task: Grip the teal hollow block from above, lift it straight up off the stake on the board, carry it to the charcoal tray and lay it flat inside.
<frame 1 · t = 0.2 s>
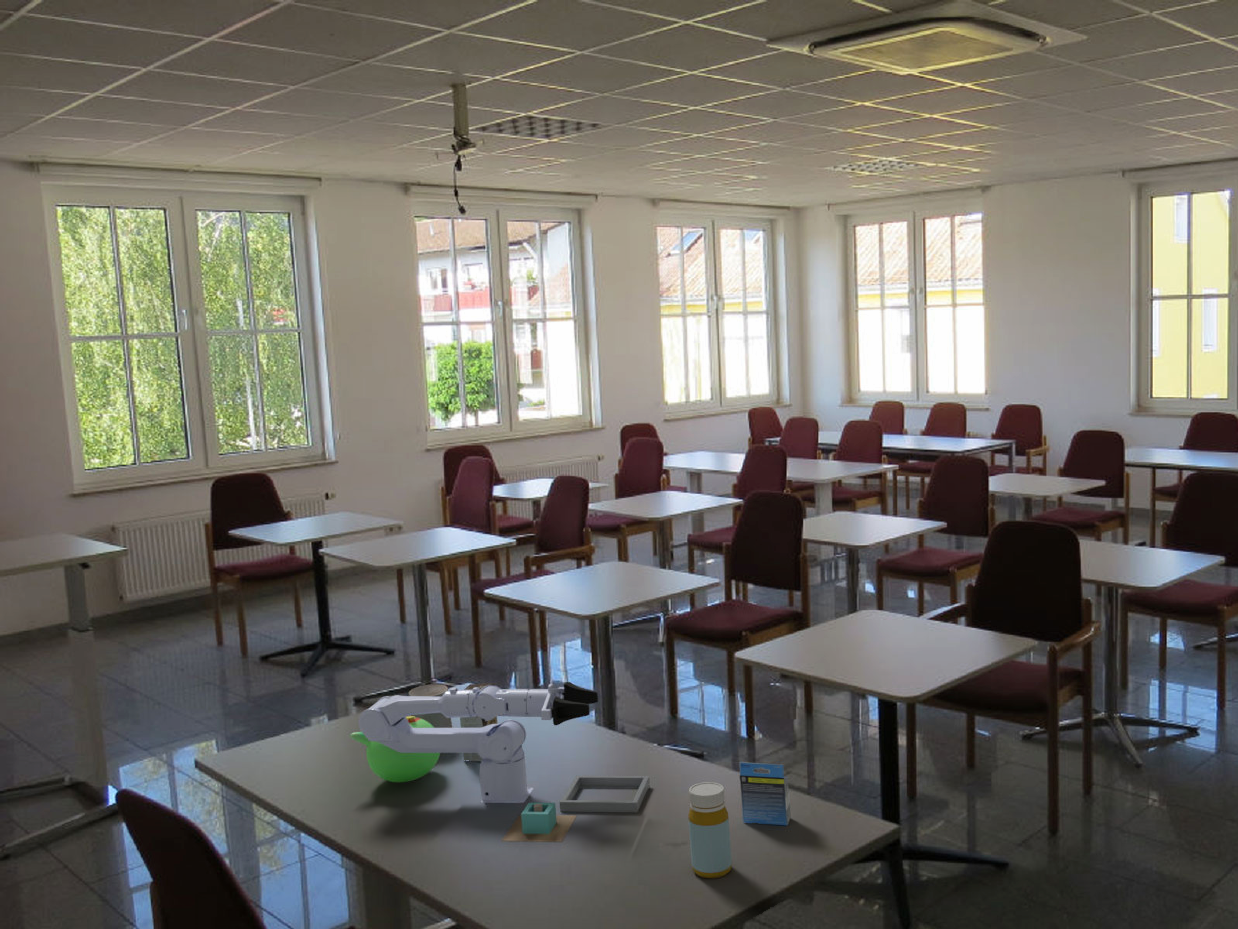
hand: (593, 703, 234), 20 cm above the table, tool horizontal, fingers open, 7 cm apart
toy bird: (402, 780, 255), on the table, touching arm
stake board: (540, 830, 222), on the table
coffee box: (482, 755, 268), on the table
bottle: (712, 871, 200), on the table
pillar candle: (433, 745, 278), on the table
label tape box: (767, 822, 219), on the table
tray: (606, 800, 235), on the table
teal hollow block: (539, 827, 222), point 1 cm above the table, touching stake board
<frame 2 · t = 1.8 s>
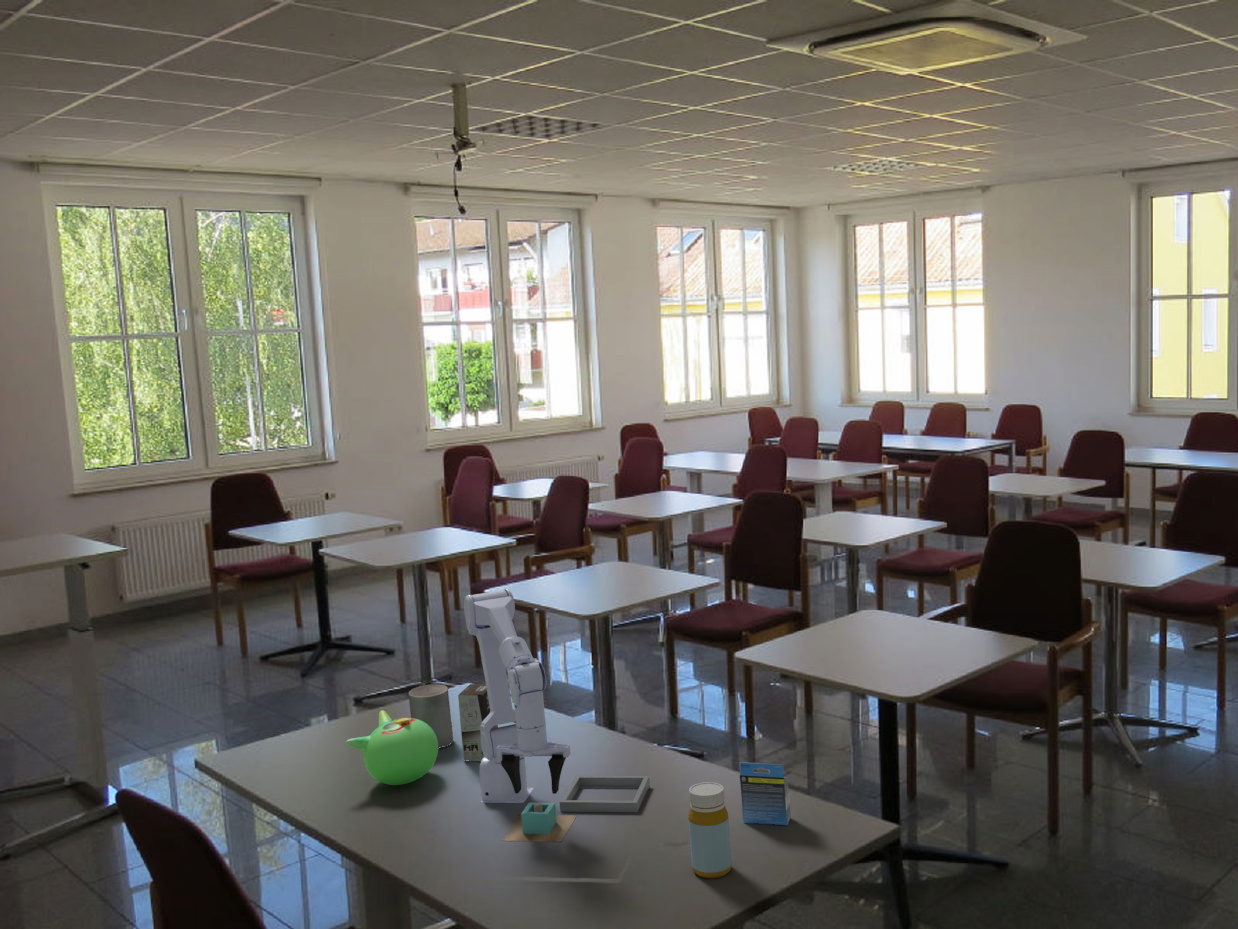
hand: (536, 791, 222), 8 cm above the table, tool pointing down, fingers open, 7 cm apart
toy bird: (401, 781, 255), on the table
everything else where it was.
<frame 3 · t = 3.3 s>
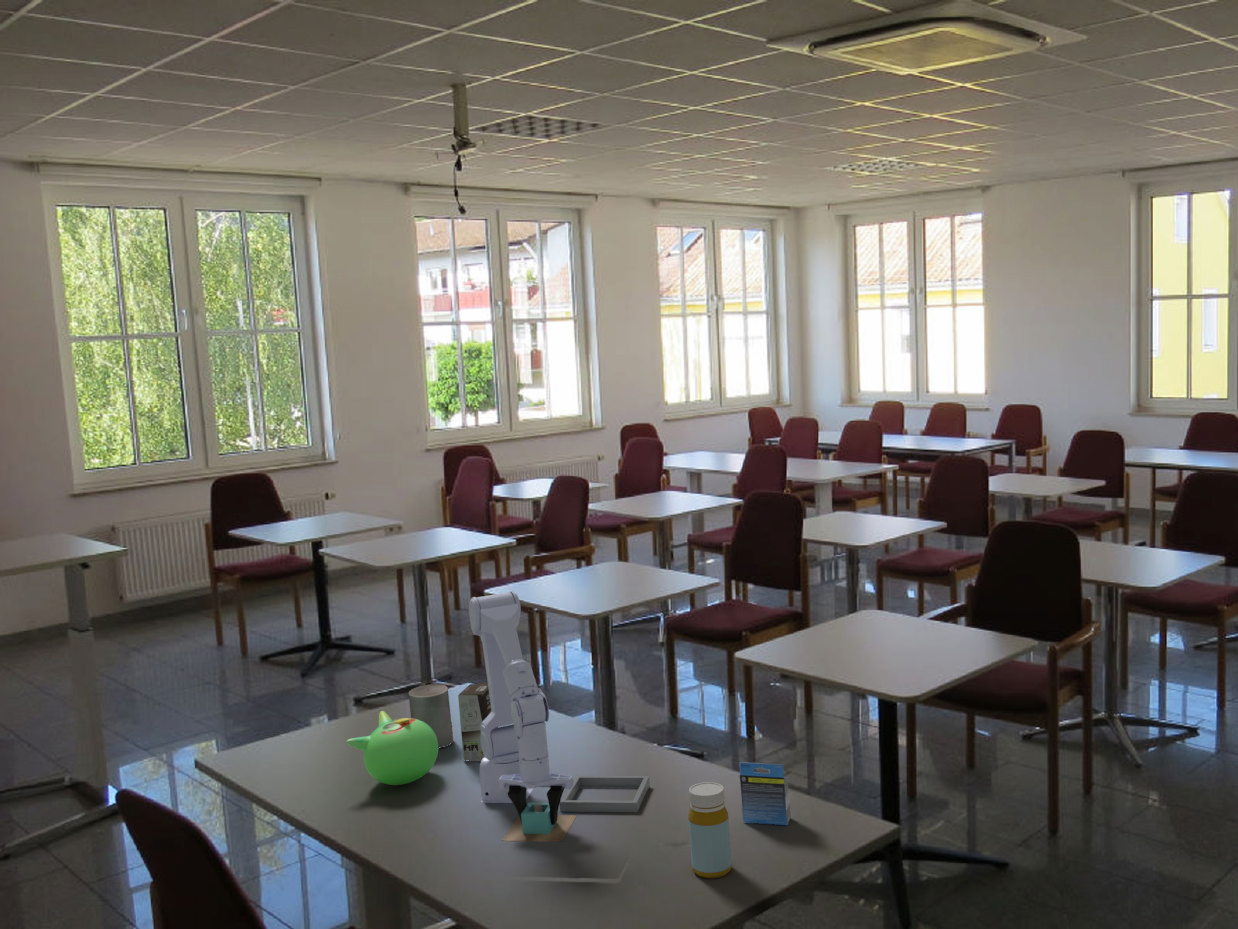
hand: (539, 822, 222), 2 cm above the table, tool pointing down, fingers closed on teal hollow block, 5 cm apart
teal hollow block: (539, 827, 222), point 1 cm above the table, touching gripper, stake board
everything else where it was.
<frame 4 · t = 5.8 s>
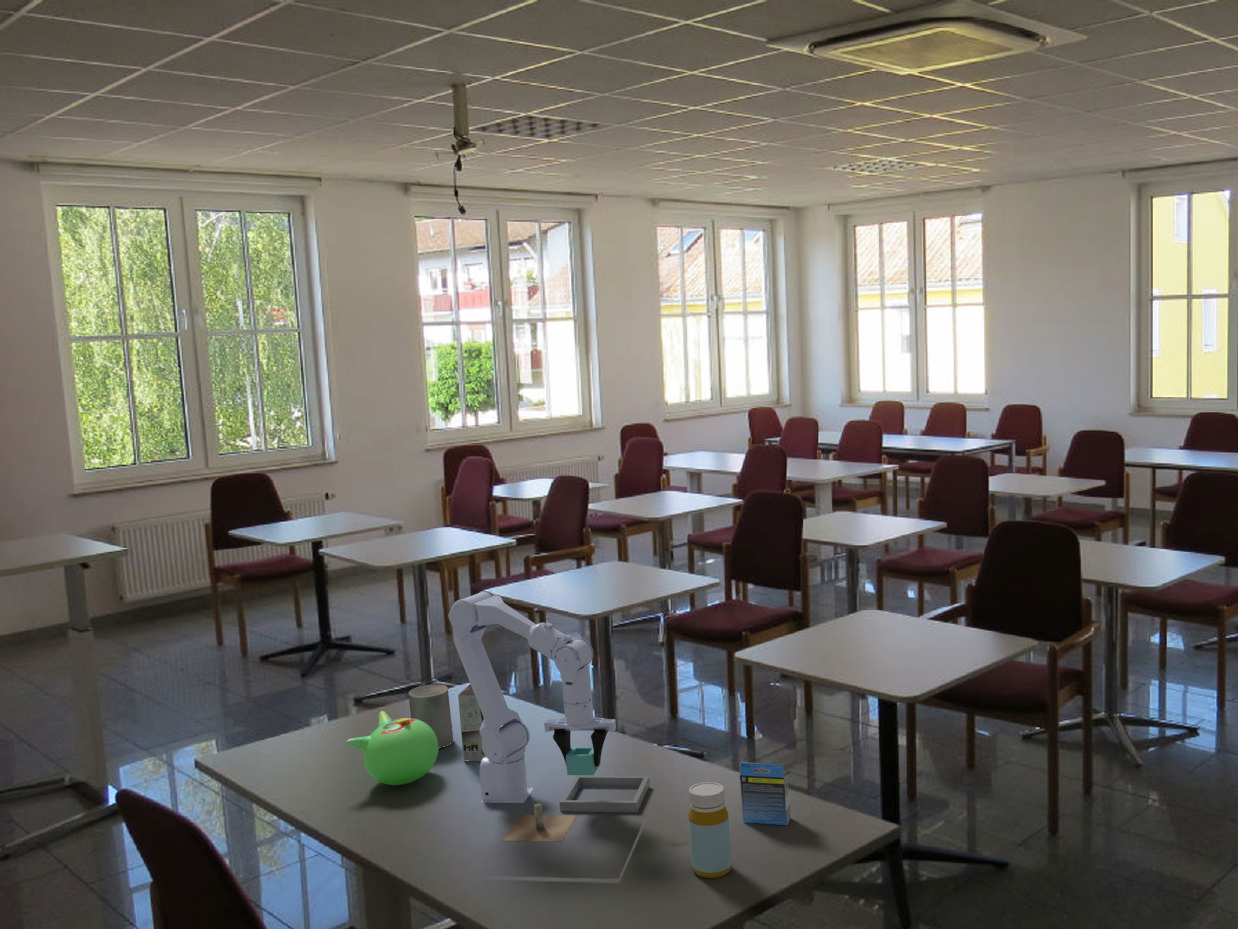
hand: (583, 764, 230), 9 cm above the table, tool pointing down, fingers closed on teal hollow block, 5 cm apart
teal hollow block: (583, 770, 230), point 8 cm above the table, touching gripper
everything else where it was.
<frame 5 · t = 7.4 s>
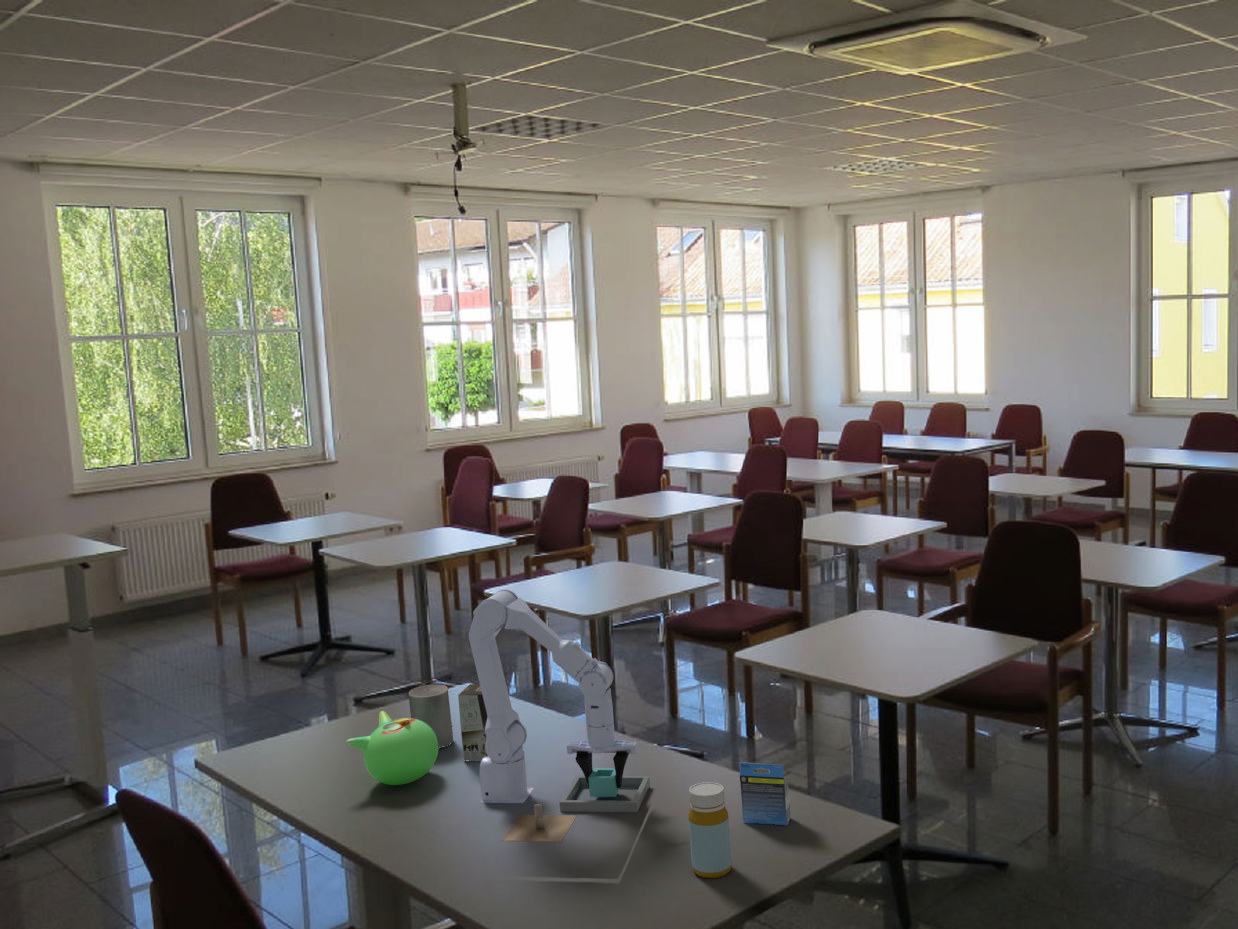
hand: (605, 786, 235), 3 cm above the table, tool pointing down, fingers closed on teal hollow block, 5 cm apart
teal hollow block: (605, 791, 235), point 2 cm above the table, touching gripper
everything else where it was.
when the fingers open (3 cm above the table, at t = 8.4 s): teal hollow block drops 1 cm, resting on tray.
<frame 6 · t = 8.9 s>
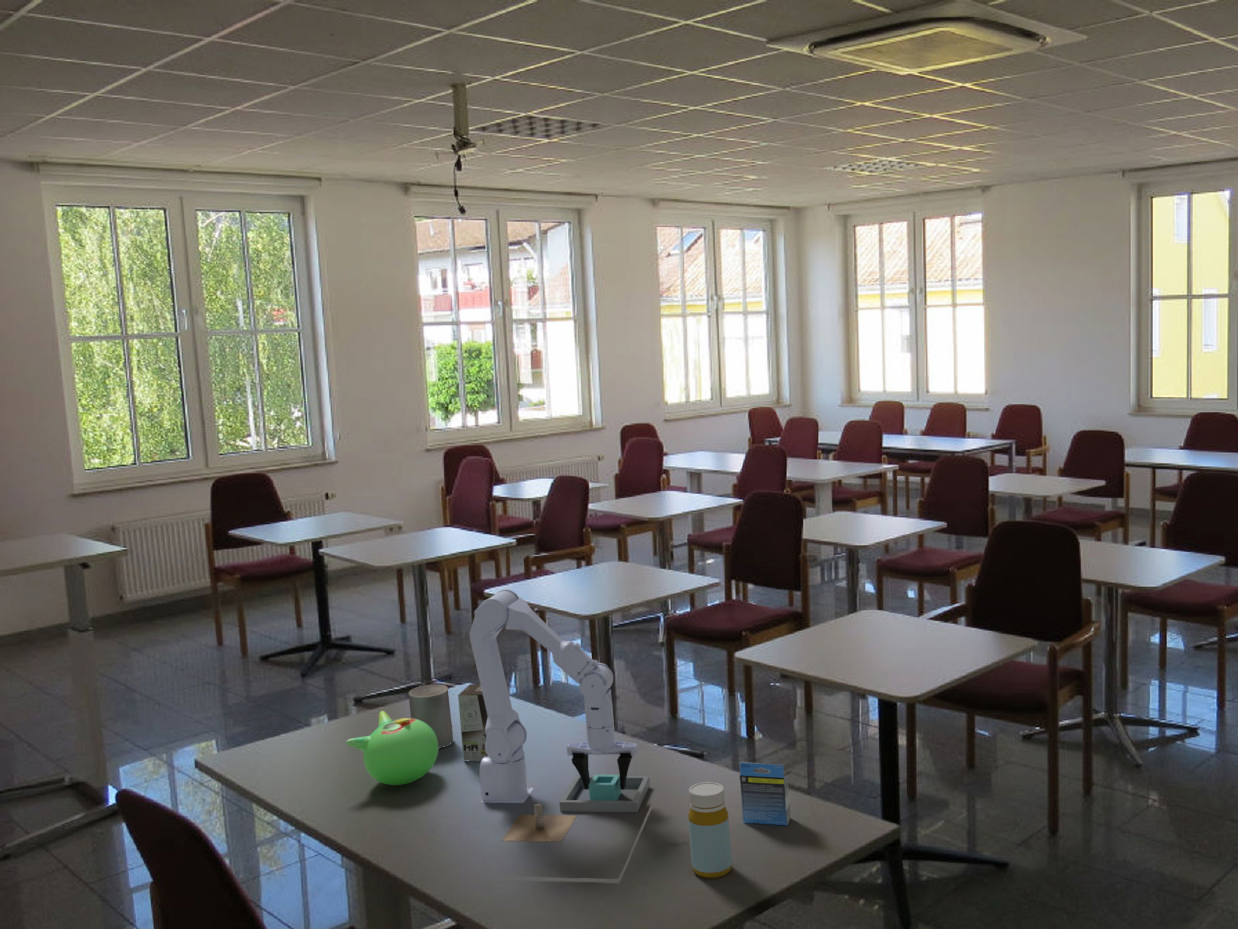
hand: (605, 788, 235), 3 cm above the table, tool pointing down, fingers open, 7 cm apart
teal hollow block: (605, 798, 235), resting on tray
everything else where it was.
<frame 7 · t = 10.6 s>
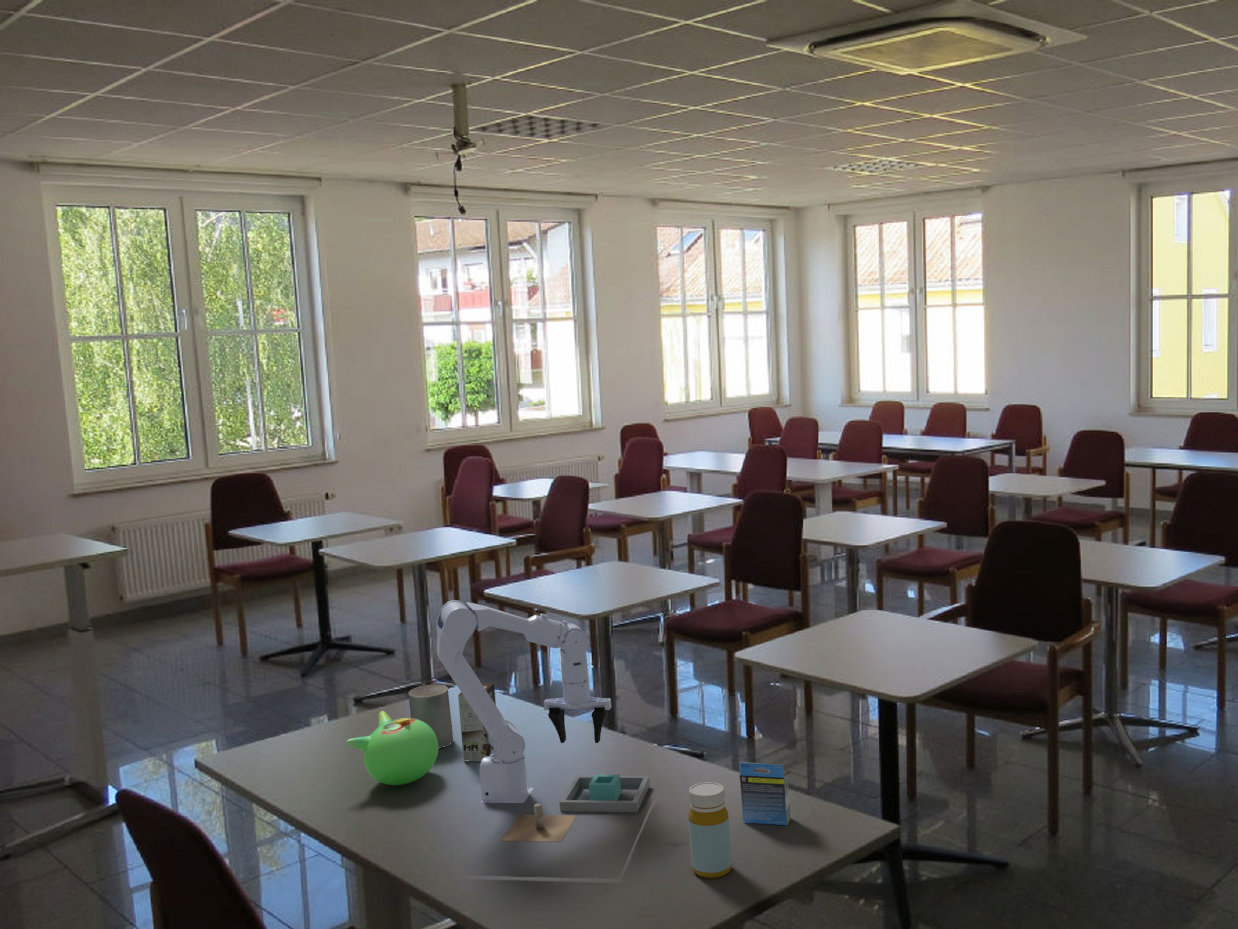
hand: (580, 741, 244), 9 cm above the table, tool pointing down, fingers open, 7 cm apart
nothing on the table moved.
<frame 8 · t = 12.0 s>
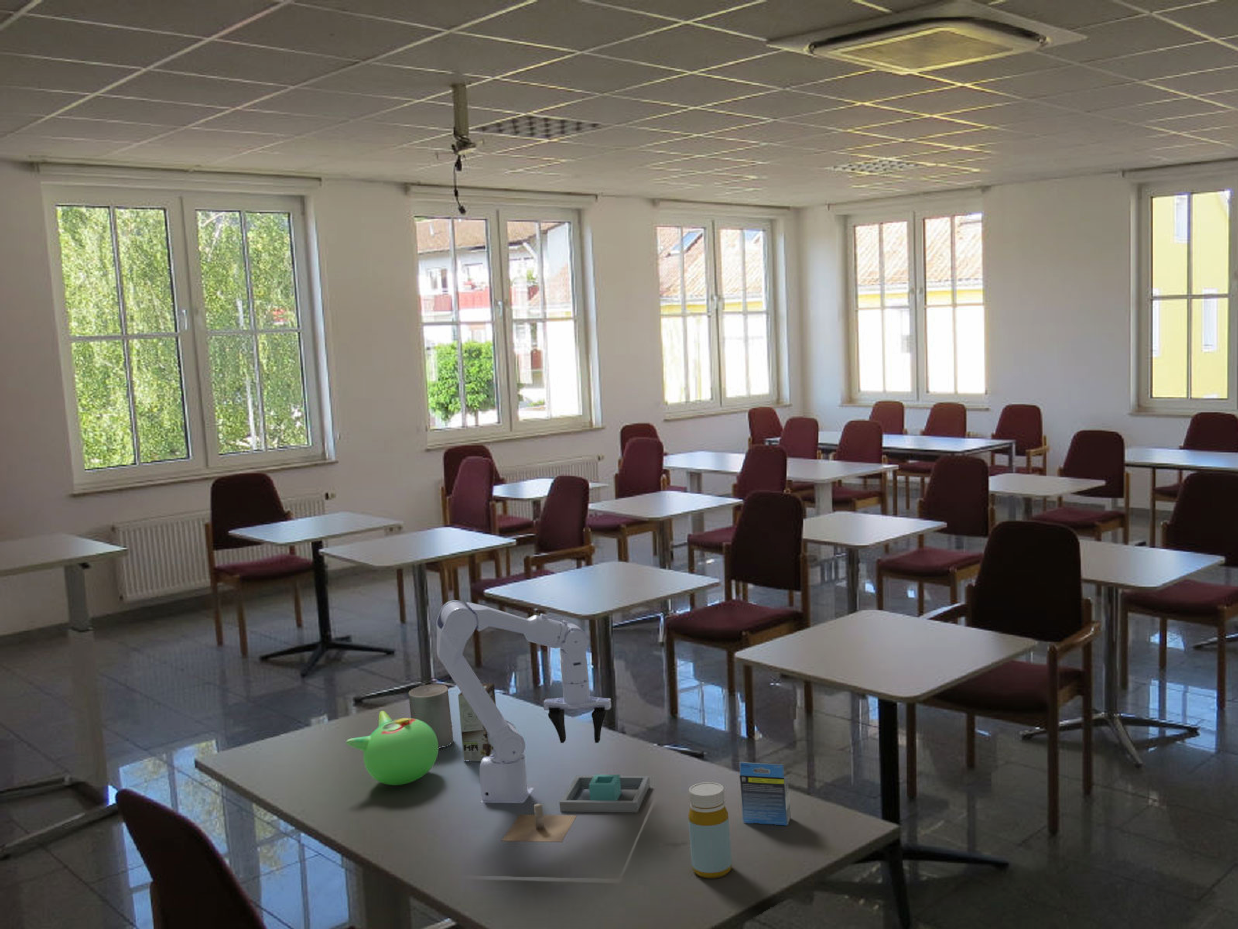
hand: (580, 741, 244), 9 cm above the table, tool pointing down, fingers open, 7 cm apart
nothing on the table moved.
at the end: teal hollow block inside the target area on the tray (0.1 cm from its centre), point 0.5 cm above the tray's base; teal hollow block tilted 0°; the gripper is holding nothing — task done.
